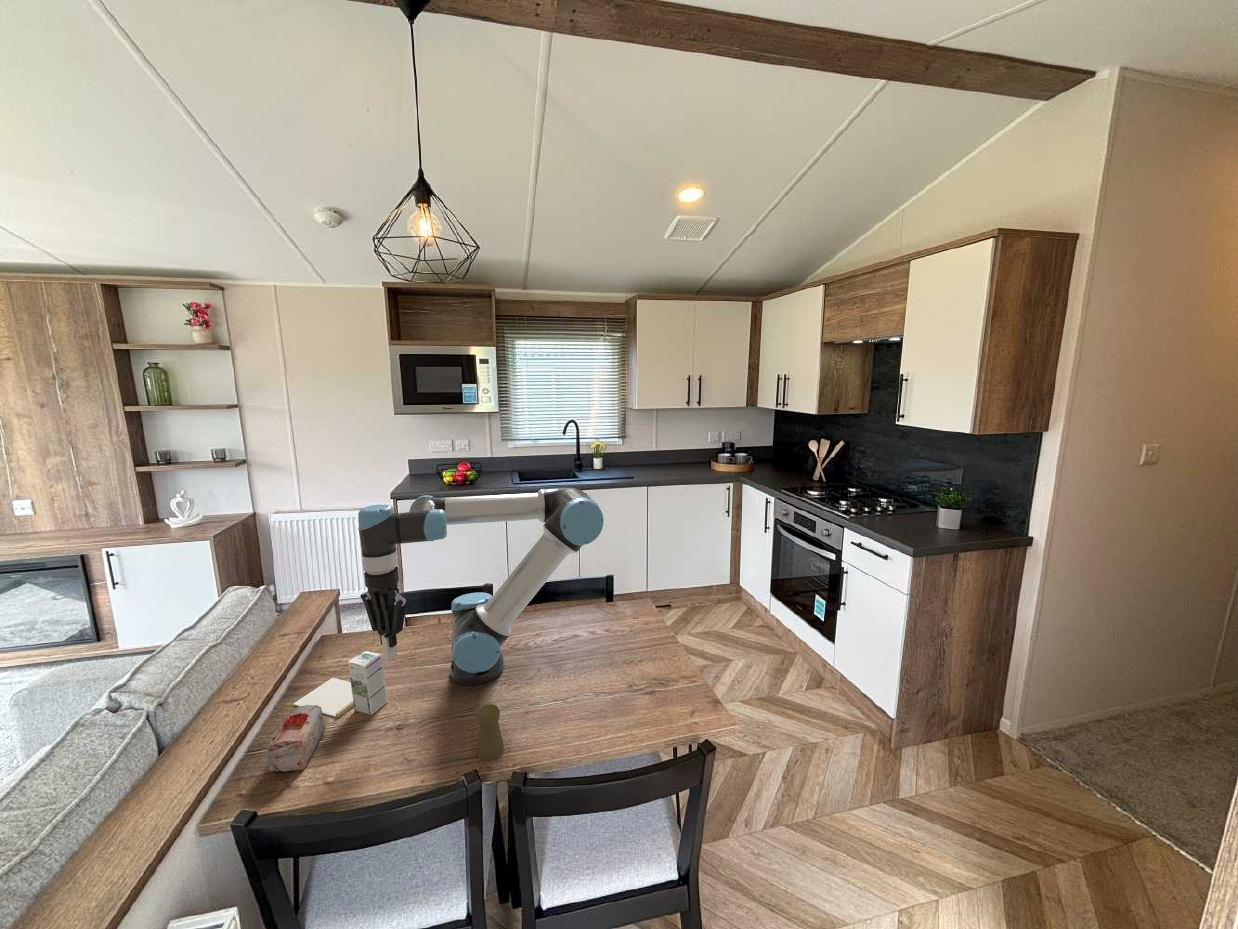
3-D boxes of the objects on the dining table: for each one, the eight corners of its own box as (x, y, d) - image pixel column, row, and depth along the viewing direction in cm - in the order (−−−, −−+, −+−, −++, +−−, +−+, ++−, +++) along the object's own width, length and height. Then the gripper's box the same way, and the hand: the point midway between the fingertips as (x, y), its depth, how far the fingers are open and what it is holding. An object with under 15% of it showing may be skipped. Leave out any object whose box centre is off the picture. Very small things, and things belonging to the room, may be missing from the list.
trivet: (375, 689, 137) (375, 686, 137) (338, 718, 126) (337, 714, 126) (332, 678, 142) (332, 675, 142) (293, 705, 131) (292, 701, 131)
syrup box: (388, 702, 132) (382, 652, 129) (370, 716, 126) (364, 665, 124) (371, 698, 134) (365, 649, 131) (353, 712, 128) (346, 661, 125)
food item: (307, 773, 109) (301, 734, 107) (266, 780, 107) (259, 740, 105) (329, 730, 122) (324, 694, 120) (293, 736, 120) (287, 700, 118)
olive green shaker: (480, 742, 117) (476, 700, 115) (505, 740, 117) (503, 699, 115) (474, 762, 111) (471, 718, 109) (502, 759, 112) (499, 716, 109)
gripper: (413, 566, 121) (421, 654, 125) (372, 560, 125) (381, 645, 130) (390, 578, 114) (399, 670, 118) (347, 571, 118) (358, 660, 123)
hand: (390, 657), depth 124 cm, fingers closed
